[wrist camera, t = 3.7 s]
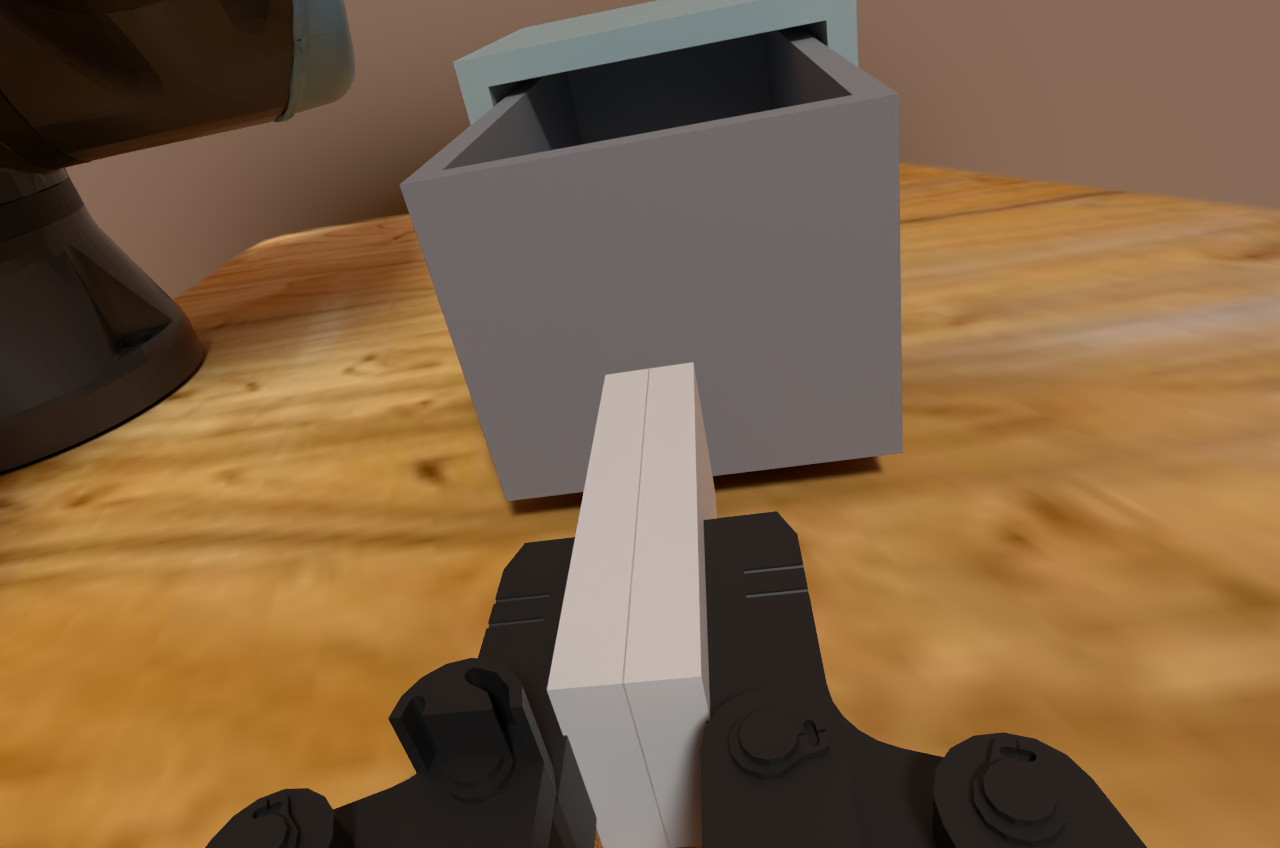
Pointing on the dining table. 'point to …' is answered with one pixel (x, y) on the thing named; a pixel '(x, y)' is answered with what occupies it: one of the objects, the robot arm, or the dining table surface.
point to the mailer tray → (676, 254)
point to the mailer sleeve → (642, 39)
